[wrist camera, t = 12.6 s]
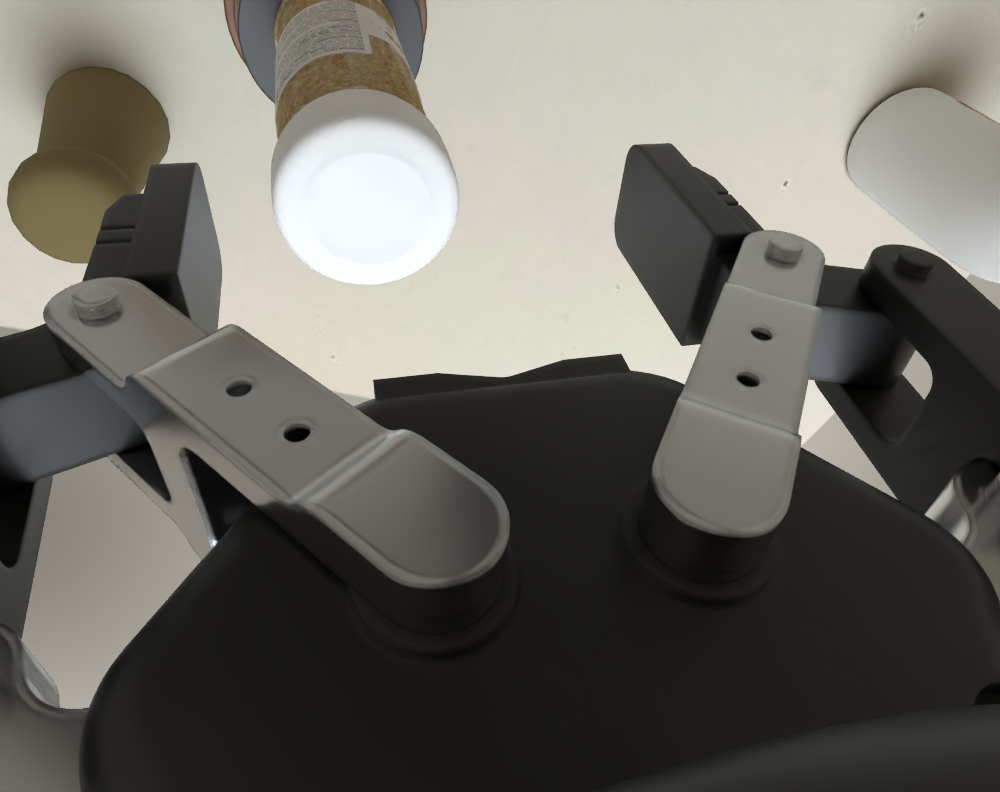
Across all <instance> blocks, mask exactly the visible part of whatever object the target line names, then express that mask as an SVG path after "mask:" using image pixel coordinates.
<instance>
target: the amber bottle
mask: <svg viewBox="0 0 1000 792" xmlns="http://www.w3.org/2000/svg"><path fill="white" fill-rule="evenodd" d="M382 2H383V3H384V5H385V6H386V7H387V9H388V11H389V13H390V15H391V17H392V19H393V22H394V25H395V29H396V33H397V38H398V39H399V41H400V44H401V46H402V49H403V51H404V54H405V57H406V59H407V62H408V64H409V67H410V70H411V72H412V75H413V77H414V80H415V79H416V76H417V74H418V71H419V68H420V64H421V60H422V54H423V44H424V41H425V35H426V29H427V6H426V0H382ZM281 3H282V0H224V9H225V17H226V21H227V25H228V29H229V32H230V35H231V37H232V40H233V43H234V45H235V47H236V49H237V51H238V53H239V55H240V57H241V58H242V60H243V61H244V63H245V64H246V66H247V67H248V69H249V71H250V73H251V75H252V77H253V79H254V80H255V82H256V83H257V84H258V86H259V87H260V89H261V90H262V91H263V92H264V93H265V95H266V96H267V97H268V98H269V99H270V100H271V101H272V102H274V103H275V67H276V48H275V42H274V25H275V19H276V15H277V12H278V10H279V8H280V6H281Z"/></svg>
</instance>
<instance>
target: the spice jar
mask: <svg viewBox="0 0 1000 792" xmlns="http://www.w3.org/2000/svg"><path fill="white" fill-rule="evenodd" d="M274 42H275V48H276V67H275V122H276V131H277V137H278V141H277V144H276V146H275V149H274V153H273V158H272V165H271V193H272V204H273V212H274V216H275V219H276V223H277V226H278V228H279V231H280V233H281V235H282V236H283V238H284V240H285V242H286V243H287V245H288V246H289V248H290V249H291V250H292V251H293V252H294V253H295V254H296V255H297V256H298V257H299V258H300V259H301V260H302V261H303V262H304V263H305V264H307V265H308V266H309V267H311V268H312V269H314V270H315V271H317V272H319V273H321V274H323V275H325V276H327V277H330V278H332V279H335V280H338V281H342V282H346V283H352V284H362V285H372V284H382V283H387V282H392V281H395V280H398V279H401V278H404V277H406V276H409V275H411V274H413V273H414V272H416V271H418V270H419V269H421V268H422V267H424V266H425V265H427V264H428V263H429V262H430V261H431V260H433V259H434V258H435V257H436V255H437V254H438V253H439V252H440V251H441V249H442V248H443V247H444V246H445V244H446V242H447V241H448V239H449V237H450V235H451V233H452V231H453V228H454V226H455V223H456V220H457V215H458V209H459V189H458V182H457V178H456V174H455V171H454V168H453V165H452V162H451V160H450V157H449V155H448V152H447V149H446V147H445V145H444V143H443V141H442V139H441V137H440V135H439V133H438V131H437V130H436V128H435V127H434V126H433V124H432V123H431V122H430V120H429V119H428V118H427V117H426V115H425V112H424V110H423V106H422V103H421V98H420V95H419V92H418V88H417V85H416V83H415V80H414V77H413V75H412V72H411V70H410V67H409V64H408V62H407V59H406V57H405V54H404V51H403V49H402V46H401V44H400V41H399V39H398V38H397V33H396V29H395V25H394V22H393V19H392V17H391V15H390V13H389V11H388V9H387V7H386V6H385V5H384V3H383V2H382V0H282V3H281V6H280V8H279V10H278V12H277V15H276V19H275V25H274Z"/></svg>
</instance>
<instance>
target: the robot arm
mask: <svg viewBox="0 0 1000 792" xmlns="http://www.w3.org/2000/svg"><path fill="white" fill-rule="evenodd" d="M100 229H101V231H99V232H98V235H97V238H96V245H94V247H93V251H92V254H91V257H90V260H89V263H88V266H87V269H86V272H85V275H84V278H83V281H82V282H80V283H78V284H75V285H72V286H70V287H68V288H66V289H64V290H62V291H61V292H59V293H58V294H56V295H55V296H54V297H53V298H52V299H51V300H50V301H49V302H48V303H47V305H46V306H45V309H44V312H43V318H44V320H45V324H43V325H41V326H38V327H35V328H33V329H30V330H26V331H23V332H20V333H16V334H12V335H8V336H5V337H1V338H0V792H1000V310H999V309H998V308H997V307H996V306H995V305H994V304H992V303H991V302H990V301H989V300H988V299H987V298H986V297H985V296H984V295H982V294H981V293H980V292H979V291H978V290H977V289H976V288H975V287H974V286H972V285H971V284H970V283H969V282H968V281H967V280H966V279H965V278H964V277H963V276H961V275H960V274H959V273H958V272H957V271H956V270H955V269H954V268H953V267H951V266H950V265H949V264H948V263H947V262H945V261H944V260H943V259H941V258H939V257H938V256H936V255H934V254H932V253H929V252H927V251H924V250H922V249H919V248H915V247H911V246H905V245H883V246H880V247H877V248H876V249H874V250H873V252H872V253H871V255H870V257H869V260H868V262H867V264H866V266H865V268H864V270H863V269H855V268H846V267H838V266H829V265H824V264H825V257H824V254H823V252H822V251H821V250H820V249H819V248H818V247H817V246H816V245H815V244H813V243H812V242H810V241H808V240H806V239H804V238H802V237H800V236H797V235H794V234H791V233H787V232H782V231H774V230H764V229H763V228H762V227H761V226H760V225H759V224H758V223H757V222H756V221H755V220H754V219H753V218H752V217H751V215H750V214H749V213H748V212H747V211H746V210H745V209H744V208H743V207H742V206H741V205H738V202H737V201H736V200H735V198H734V197H733V196H732V195H731V194H729V195H728V191H727V190H726V189H725V188H724V187H723V186H722V185H721V184H720V182H719V181H718V180H717V179H716V178H714V177H712V176H710V175H709V174H707V173H705V172H703V171H701V170H700V169H698V168H696V167H693V166H692V165H691V164H690V163H689V162H688V161H687V160H686V159H685V158H684V157H683V155H682V154H681V153H680V152H679V151H678V150H677V149H676V148H675V147H674V146H673V145H672V144H670V143H665V144H642V145H633V146H632V147H631V148H630V150H629V152H628V154H627V158H626V162H625V168H624V173H623V178H622V184H621V189H620V194H619V200H618V205H617V210H616V216H615V238H616V242H617V245H618V248H619V249H620V251H621V253H622V254H623V256H624V257H625V259H626V260H627V262H628V263H629V265H630V267H631V268H632V270H633V271H634V273H635V274H636V276H637V277H638V279H639V281H640V282H641V284H642V285H643V287H644V288H645V290H646V291H647V293H648V295H649V296H650V298H651V299H652V301H653V302H654V304H655V305H656V307H657V309H658V310H659V312H660V313H661V315H662V316H663V318H664V320H665V321H666V323H667V324H668V326H669V327H670V329H671V330H672V332H673V334H674V335H675V337H676V338H677V340H678V341H679V343H680V344H681V346H686V345H696V344H701V345H700V348H699V350H698V353H697V356H696V358H695V361H694V363H693V366H692V368H691V371H690V373H689V376H688V378H687V381H686V383H685V385H684V384H682V383H680V382H677V381H675V380H672V379H669V378H666V377H662V376H658V375H654V374H650V373H644V372H637V371H630V369H629V367H628V366H627V364H626V362H625V360H624V358H623V356H622V355H621V354H615V355H605V356H596V357H587V358H577V359H568V360H562V361H558V362H555V363H552V364H549V365H546V366H542V367H539V368H536V369H533V370H529V371H526V372H523V373H520V374H517V375H513V376H510V377H486V376H471V375H456V374H441V373H435V374H426V375H416V376H407V377H397V378H388V379H378V380H373V381H374V394H375V399H372V400H369V401H366V402H363V403H361V404H359V405H356V406H354V407H353V406H352V405H350V404H349V403H348V402H346V401H345V400H343V399H342V398H341V397H339V396H338V395H336V394H335V393H333V392H332V391H331V390H329V389H328V388H326V387H325V386H323V385H322V384H321V383H319V382H318V381H316V380H315V379H313V378H312V377H311V376H309V375H308V374H306V373H305V372H303V371H302V370H301V369H299V368H298V367H296V366H295V365H294V364H292V363H291V362H289V361H288V360H286V359H285V358H284V357H282V356H281V355H279V354H278V353H276V352H275V351H274V350H272V349H271V348H269V347H268V346H266V345H265V344H264V343H262V342H261V341H259V340H258V339H256V338H255V337H254V336H252V335H251V334H249V333H248V332H247V331H245V330H244V329H242V328H240V327H239V326H237V325H233V324H229V325H226V326H225V327H223V328H221V329H219V330H218V318H219V306H220V294H221V282H222V264H221V256H220V249H219V244H218V240H217V235H216V231H215V227H214V223H213V218H212V214H211V210H210V206H209V202H208V197H207V193H206V189H205V185H204V180H203V176H202V173H201V170H200V167H199V165H198V163H174V164H152V165H151V167H150V171H149V175H148V179H147V183H146V186H145V190H144V194H125V195H123V196H121V197H120V198H119V199H118V200H117V201H116V202H115V203H113V204H112V205H111V206H110V207H109V208H108V209H107V210H106V211H105V214H104V217H103V220H102V223H101V226H100ZM915 350H917V351H918V352H919V353H920V354H921V355H922V357H924V359H925V360H926V361H927V362H928V364H929V366H930V368H931V371H932V377H933V383H932V387H931V390H930V392H929V394H928V396H927V397H926V399H925V400H924V399H923V398H922V397H921V396H920V394H919V393H918V392H917V391H916V390H915V389H914V387H913V386H912V385H911V384H910V383H909V382H908V380H907V379H906V378H905V377H904V376H903V375H902V372H903V371H904V369H905V367H906V365H907V364H908V362H909V360H910V359H911V357H912V355H913V354H914V352H915ZM809 379H810V380H815V383H816V385H817V387H818V388H819V390H820V391H821V393H822V394H823V395H824V397H825V398H826V400H827V401H828V402H829V404H830V405H831V407H832V408H833V409H834V411H835V412H836V414H837V415H838V416H839V418H840V419H841V420H842V422H843V423H844V425H845V426H846V428H847V429H848V430H849V432H850V433H851V435H852V436H853V437H854V439H855V440H856V442H857V443H858V444H859V446H860V447H861V449H862V450H863V451H864V452H865V454H866V456H867V457H868V458H869V460H870V461H871V463H872V464H873V465H874V467H875V468H876V470H877V471H878V472H879V474H880V475H881V477H882V478H883V479H884V481H885V482H886V484H887V485H888V486H889V488H890V489H891V490H892V492H893V493H894V494H895V496H896V497H897V499H898V500H897V499H895V498H893V497H891V496H889V495H888V494H886V493H884V492H882V491H880V490H878V489H877V488H875V487H873V486H871V485H869V484H867V483H865V482H864V481H862V480H860V479H858V478H856V477H854V476H853V475H851V474H849V473H847V472H845V471H844V470H842V469H840V468H838V467H836V466H834V465H832V464H831V463H829V462H827V461H825V460H823V459H822V458H820V457H818V456H816V455H814V454H812V453H811V452H809V451H807V450H805V449H803V448H801V435H799V434H798V430H799V425H800V420H801V415H802V410H803V405H804V400H805V395H806V390H807V385H808V380H809ZM107 456H108V458H109V459H110V461H111V462H112V463H113V464H114V465H115V466H116V467H117V468H119V469H120V470H121V471H122V472H123V473H124V474H125V475H126V476H127V477H128V478H129V479H130V480H131V481H132V482H133V483H134V484H135V485H136V486H137V487H139V489H141V490H142V491H143V492H144V493H145V494H146V495H147V496H148V497H149V498H150V499H151V500H152V501H153V502H154V503H155V504H156V505H157V506H158V507H159V508H160V509H161V510H162V511H163V512H164V513H165V514H166V515H168V516H169V517H170V518H171V519H172V520H173V521H174V522H175V524H176V525H177V526H178V527H179V528H180V530H181V531H182V532H183V534H184V535H185V537H186V538H187V540H188V542H189V543H190V545H191V546H192V548H193V549H194V551H195V552H196V554H197V555H198V556H199V558H200V559H201V560H202V561H201V562H200V563H199V564H198V565H197V566H196V568H195V569H194V570H193V571H192V572H191V573H190V574H189V576H188V577H187V578H186V579H185V580H184V581H183V582H182V584H181V585H180V586H179V587H178V588H177V589H176V590H175V592H174V593H173V594H172V595H171V596H170V597H169V599H168V600H167V601H166V602H165V603H164V604H163V605H162V606H161V608H160V609H159V610H158V611H157V612H156V613H155V614H154V616H153V617H152V618H151V619H150V620H149V621H148V622H147V623H146V625H145V626H144V627H143V628H142V629H141V631H140V632H139V633H138V634H137V635H136V636H135V637H134V638H133V639H132V641H131V642H130V643H129V644H128V645H127V646H126V647H125V649H124V650H123V651H122V652H121V654H120V655H119V656H118V657H117V659H116V660H115V661H114V663H113V664H112V665H111V667H110V668H109V670H108V671H107V673H106V674H105V676H104V678H103V679H102V681H101V683H100V685H99V687H98V689H97V691H96V693H95V695H94V697H93V699H92V702H91V704H90V707H89V708H84V709H65V708H60V705H59V693H58V689H57V687H56V685H55V683H54V681H53V679H52V678H51V677H50V676H49V675H48V673H47V672H46V671H45V669H44V668H43V667H42V665H41V664H40V663H39V662H38V661H37V659H36V658H35V657H34V655H33V654H32V653H31V652H30V650H29V649H28V648H27V646H26V645H25V644H24V643H23V641H22V640H21V639H22V633H23V629H24V623H25V618H26V613H27V608H28V603H29V598H30V593H31V588H32V582H33V577H34V572H35V567H36V562H37V557H38V551H39V546H40V541H41V536H42V531H43V526H44V521H45V515H46V510H47V505H48V500H49V495H50V490H51V484H52V477H53V475H54V474H57V473H60V472H63V471H66V470H69V469H72V468H75V467H78V466H80V465H84V464H86V463H89V462H92V461H95V460H98V459H101V458H103V457H107Z"/></svg>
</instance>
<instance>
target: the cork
mask: <svg viewBox="0 0 1000 792" xmlns="http://www.w3.org/2000/svg"><path fill="white" fill-rule="evenodd" d="M169 140H170V133H169V126H168V120H167V118H166V116H165V114H164V112H163V110H162V107H161V105H160V103H159V102H158V101H157V100H156V99H155V98H154V97H153V95H152V94H151V93H150V92H149V91H148V90H147V89H146V88H145V87H144V86H142V85H141V84H139V83H138V82H136V81H135V80H133V79H132V78H130V77H129V76H127V75H124V74H121V73H118V72H116V71H113V70H110V69H104V68H93V67H86V68H82V69H78V70H73V71H70V72H68V73H67V74H65V75H64V76H62V77H61V78H59V79H58V80H56V81H55V83H54V84H53V86H52V88H51V89H50V91H49V93H48V94H47V98H46V104H45V109H44V115H43V121H42V126H41V132H40V138H39V144H38V149H37V153H35V154H33V155H32V156H30V157H29V158H27V159H26V160H24V161H23V162H21V164H20V165H19V167H18V169H17V170H16V172H15V173H14V175H13V177H12V178H11V180H10V181H9V187H8V196H7V205H8V208H9V212H10V215H11V218H12V221H13V223H14V224H15V226H16V227H17V228H18V230H19V231H20V233H21V234H22V236H23V237H24V238H25V239H26V240H27V241H29V242H30V243H31V244H32V245H33V246H35V247H36V248H37V249H38V250H39V251H41V252H43V253H45V254H47V255H49V256H51V257H53V258H55V259H59V260H63V261H66V262H70V263H89V260H90V257H91V254H92V251H93V247H94V245H96V238H97V235H98V232H99V231H101V229H100V226H101V223H102V220H103V217H104V214H105V211H106V210H107V209H108V208H109V207H110V206H111V205H112V204H113V203H115V202H116V201H117V200H118V199H119V198H120V197H121V196H123V195H125V194H140V193H141V191H142V190H143V188H144V186H145V185H146V183H147V179H148V175H149V171H150V167H151V165H152V164H159V163H160V162H161V160H162V159H163V157H164V156H165V154H166V153H167V149H168V144H169Z"/></svg>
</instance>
